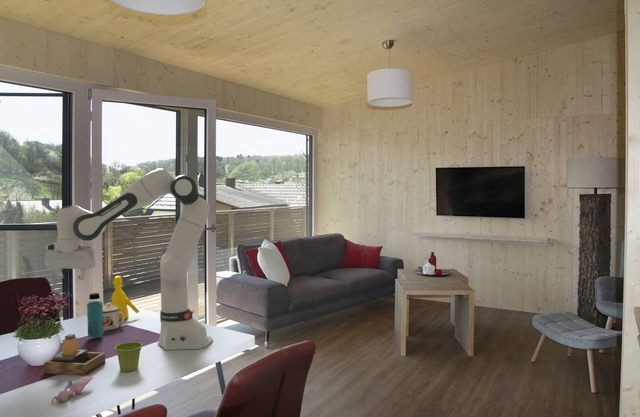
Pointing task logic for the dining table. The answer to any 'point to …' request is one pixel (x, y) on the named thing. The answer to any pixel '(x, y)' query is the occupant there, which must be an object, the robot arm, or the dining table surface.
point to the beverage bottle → (95, 316)
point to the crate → (76, 365)
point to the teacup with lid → (111, 317)
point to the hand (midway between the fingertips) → (70, 279)
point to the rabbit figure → (72, 389)
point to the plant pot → (128, 355)
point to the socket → (72, 357)
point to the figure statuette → (121, 298)
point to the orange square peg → (70, 345)
